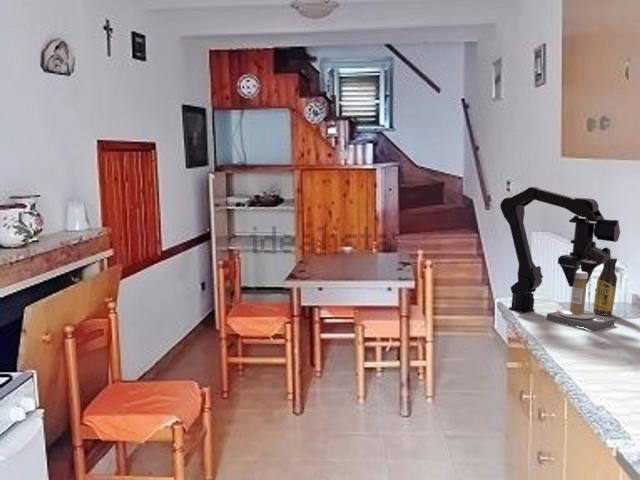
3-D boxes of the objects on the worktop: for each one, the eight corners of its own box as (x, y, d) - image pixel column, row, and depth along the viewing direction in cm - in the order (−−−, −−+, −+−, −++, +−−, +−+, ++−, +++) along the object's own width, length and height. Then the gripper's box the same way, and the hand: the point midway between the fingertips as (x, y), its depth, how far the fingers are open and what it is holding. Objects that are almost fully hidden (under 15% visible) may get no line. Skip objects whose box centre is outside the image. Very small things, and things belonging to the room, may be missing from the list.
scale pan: (549, 313, 230) (549, 310, 230) (568, 309, 237) (568, 306, 237) (582, 321, 221) (582, 318, 221) (600, 316, 229) (601, 313, 228)
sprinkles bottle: (586, 313, 228) (591, 272, 226) (578, 314, 226) (582, 273, 224) (575, 310, 232) (579, 270, 230) (566, 311, 229) (570, 271, 227)
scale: (546, 319, 229) (547, 312, 229) (568, 314, 238) (569, 307, 238) (592, 331, 217) (593, 323, 217) (614, 325, 227) (615, 317, 226)
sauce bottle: (588, 312, 243) (595, 255, 240) (601, 311, 246) (607, 255, 243) (604, 316, 238) (610, 259, 235) (617, 315, 240) (623, 258, 238)
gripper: (592, 243, 213) (587, 293, 216) (621, 239, 226) (616, 287, 228) (559, 237, 222) (554, 286, 224) (589, 234, 234) (583, 280, 236)
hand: (578, 285), depth 228 cm, fingers open, 9 cm apart
